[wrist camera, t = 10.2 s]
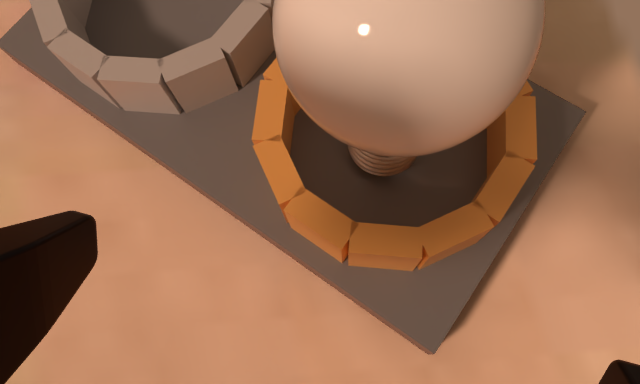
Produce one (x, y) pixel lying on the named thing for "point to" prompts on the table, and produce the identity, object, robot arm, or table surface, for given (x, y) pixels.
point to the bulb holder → (296, 150)
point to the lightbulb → (405, 70)
